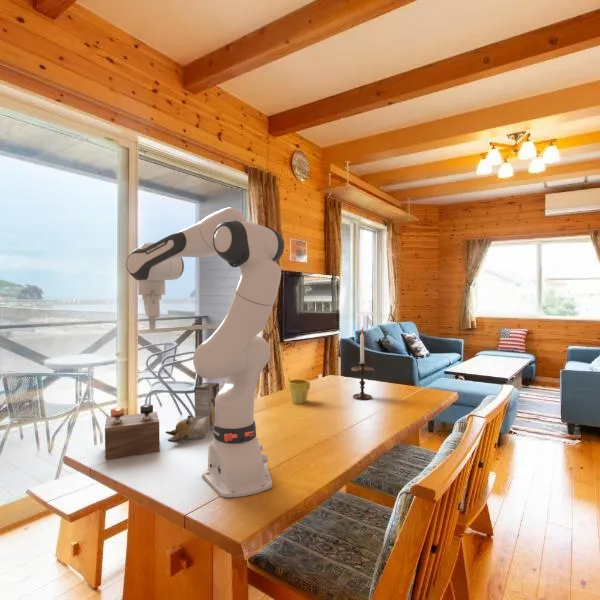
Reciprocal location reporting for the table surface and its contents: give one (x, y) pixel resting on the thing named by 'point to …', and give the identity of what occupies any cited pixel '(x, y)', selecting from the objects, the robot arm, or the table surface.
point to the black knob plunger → (146, 410)
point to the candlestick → (362, 371)
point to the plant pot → (299, 390)
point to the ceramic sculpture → (189, 429)
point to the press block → (131, 436)
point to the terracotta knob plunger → (117, 413)
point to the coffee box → (206, 402)
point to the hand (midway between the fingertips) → (152, 329)
